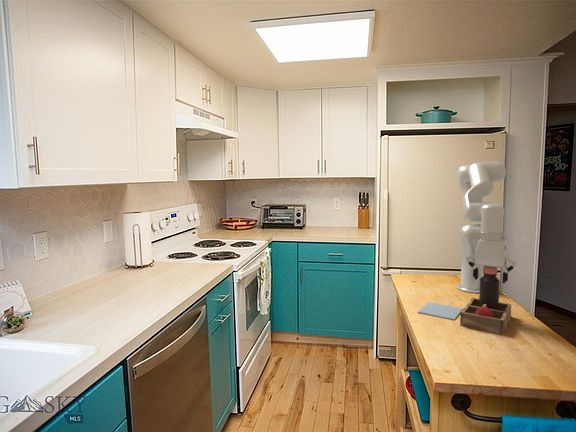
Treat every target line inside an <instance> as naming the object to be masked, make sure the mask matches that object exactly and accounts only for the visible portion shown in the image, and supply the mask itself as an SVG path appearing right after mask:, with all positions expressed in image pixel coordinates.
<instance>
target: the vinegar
mask: <svg viewBox="0 0 576 432" xmlns="http://www.w3.org/2000/svg"><path fill="white" fill-rule="evenodd" d="M497 275H498V267H490V266H483V277H482V278H480V293H478V294H479V295H478V296H479V298H478V299H479V307H482V306H483V305H484V304H486V305H487V306H486V307H487V308H489V309H494V310H498V309H499V302H500V284H501V283H500V280H499V278H498V277H497Z"/></svg>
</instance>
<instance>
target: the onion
mask: <svg viewBox="0 0 576 432" xmlns="http://www.w3.org/2000/svg"><path fill="white" fill-rule="evenodd" d="M486 306H487V305H486V304H484V305H483V306H482V307H480V308H478V309H477V310H476V313H475V314H476V315H481V316H487V317H492V318H493V314H492V312H491V310H490V309H489V308H487V307H486Z"/></svg>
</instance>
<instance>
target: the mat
mask: <svg viewBox="0 0 576 432" xmlns="http://www.w3.org/2000/svg"><path fill="white" fill-rule="evenodd" d="M463 309H464V308H463V307H457V306H452V305H447V304H441V303H436V302H432V301H431V302H430V301H428V302H427V303H425V305H424V306H423V307H421V309H419V310H418V311H417V313H418V314H421V315H426V316H432V317H436V318H441V319H446V320H451V321H455V320H456V319H457V318H458V316H459V315H461V311H462V310H463Z"/></svg>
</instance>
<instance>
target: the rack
mask: <svg viewBox="0 0 576 432" xmlns="http://www.w3.org/2000/svg"><path fill="white" fill-rule="evenodd" d="M478 308H480V307H479V298H477V297H476V298H475V297H472V298H470V300H469V301H468V302H467V304H466V305H465V306H464V308H463V310H462V311H461V313H460V314H459V315H460V321H459V322H460V324H459V326H460V327H466V328H470V329H476V330H480V331H485V332H490V333H494V334H495V333H496V334H499V335H504V334H505V331H506V328H507V326H508V324H509V322H510V320H511V317H512V316H511V315H512V303H505V302H500V301H499V309H498V310H494V309H490V310H491V312H492V314H493V318H492V317H487V316H481V315H476V314H475V313H476V310H477V309H478Z"/></svg>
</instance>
